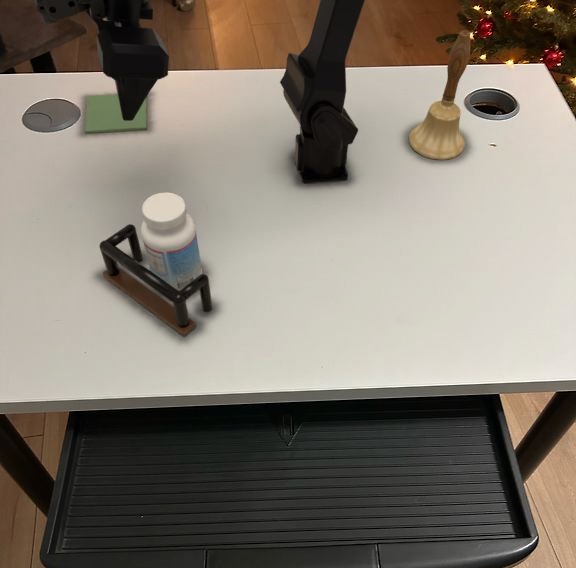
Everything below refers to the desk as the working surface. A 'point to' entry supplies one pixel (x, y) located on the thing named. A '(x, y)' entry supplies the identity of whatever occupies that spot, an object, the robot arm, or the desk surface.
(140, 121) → the felt mat
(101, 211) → the desk surface
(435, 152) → the hand bell
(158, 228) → the pill bottle
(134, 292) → the rail rack
